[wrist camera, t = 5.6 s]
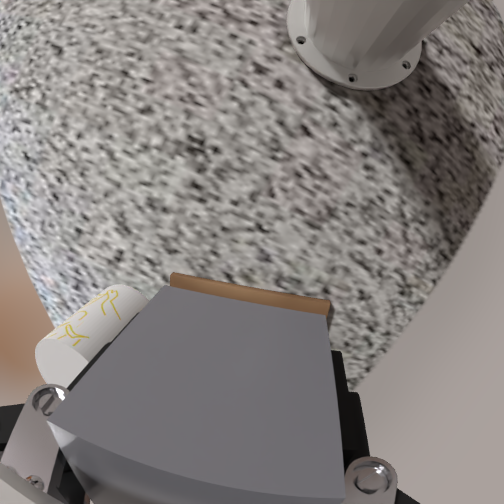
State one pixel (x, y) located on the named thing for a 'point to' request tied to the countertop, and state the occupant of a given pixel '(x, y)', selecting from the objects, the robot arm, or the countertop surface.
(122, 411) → the grey block
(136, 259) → the countertop surface
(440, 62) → the countertop surface
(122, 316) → the cup
